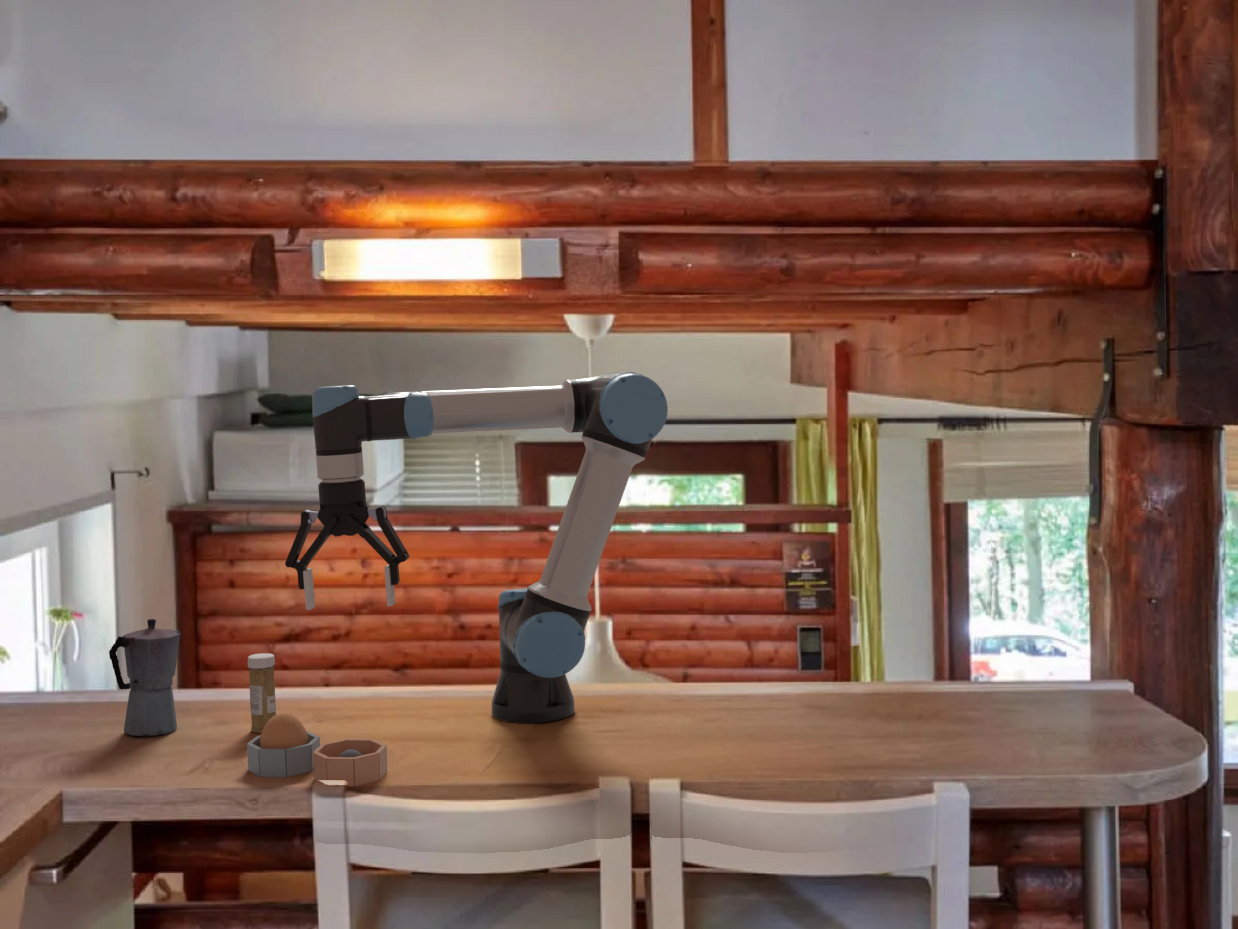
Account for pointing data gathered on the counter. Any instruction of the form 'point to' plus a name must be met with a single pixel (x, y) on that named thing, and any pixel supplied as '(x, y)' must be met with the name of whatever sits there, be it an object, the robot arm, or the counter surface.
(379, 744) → the brown octagonal bowl
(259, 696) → the sprinkles bottle
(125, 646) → the moka pot
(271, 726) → the egg
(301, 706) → the counter surface
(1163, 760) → the counter surface
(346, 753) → the rubber ball
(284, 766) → the grey octagonal bowl
